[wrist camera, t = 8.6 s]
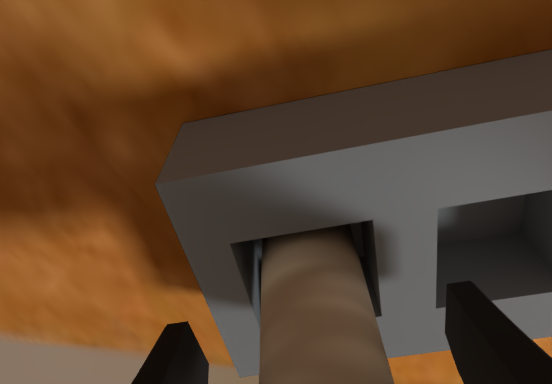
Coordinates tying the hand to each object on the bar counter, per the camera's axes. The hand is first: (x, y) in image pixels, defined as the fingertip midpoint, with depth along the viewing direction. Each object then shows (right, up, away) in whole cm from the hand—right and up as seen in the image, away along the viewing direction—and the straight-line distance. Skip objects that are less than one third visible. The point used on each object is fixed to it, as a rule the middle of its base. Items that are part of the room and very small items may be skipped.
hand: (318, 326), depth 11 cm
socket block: (+3, +4, +4) cm, 6 cm away
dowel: (0, +3, +4) cm, 5 cm away
